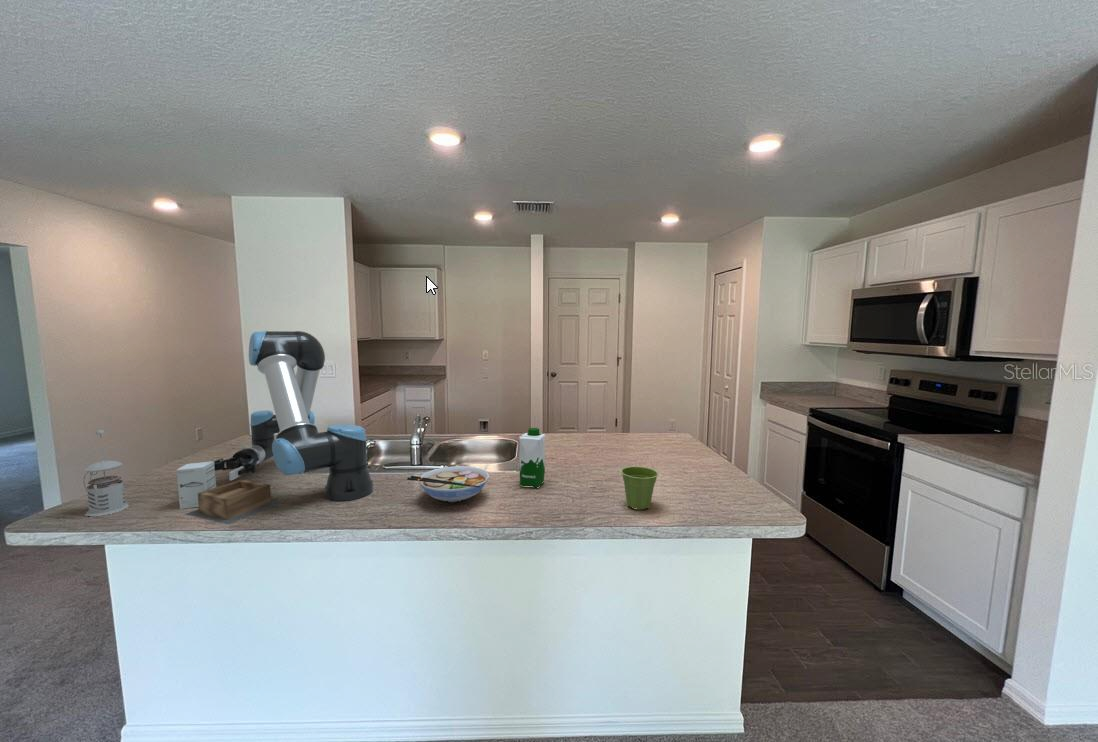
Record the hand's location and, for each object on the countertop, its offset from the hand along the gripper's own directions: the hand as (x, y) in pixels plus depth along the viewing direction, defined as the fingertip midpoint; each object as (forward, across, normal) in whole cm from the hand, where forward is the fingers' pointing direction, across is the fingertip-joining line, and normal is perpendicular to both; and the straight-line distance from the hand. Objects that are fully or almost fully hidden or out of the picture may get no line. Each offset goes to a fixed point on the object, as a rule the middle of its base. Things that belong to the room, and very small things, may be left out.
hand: (208, 477), depth 141 cm
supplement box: (+5, 0, -7) cm, 9 cm away
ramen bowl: (+4, -80, -7) cm, 81 cm away
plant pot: (+14, -140, -7) cm, 140 cm away
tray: (+9, -14, -7) cm, 18 cm away
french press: (+8, +25, -7) cm, 27 cm away
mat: (+9, -14, -7) cm, 18 cm away
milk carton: (-7, -106, -7) cm, 107 cm away
